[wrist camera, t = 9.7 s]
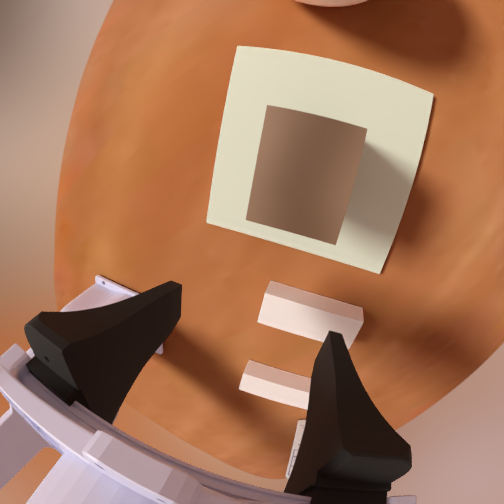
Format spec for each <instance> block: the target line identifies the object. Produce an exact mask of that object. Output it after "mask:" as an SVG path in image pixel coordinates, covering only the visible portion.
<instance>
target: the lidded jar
mask: <svg viewBox="0 0 504 504" xmlns="http://www.w3.org/2000/svg"><path fill="white" fill-rule="evenodd" d="M294 1H297V2H301V3H305V4H310V5H316V6H327V7H341V6H350V5H355V4H359V3H363V2H365V1H368V0H294Z"/></svg>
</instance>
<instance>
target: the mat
mask: <svg viewBox="0 0 504 504" xmlns="http://www.w3.org/2000/svg"><path fill="white" fill-rule="evenodd" d="M433 95H434V94H432V93H430V92H428V91H425V90H423V89H421V88H418V87H416V86H414V85H411V84H409V83H406V82H403V81H401V80H398V79H395V78H393V77H390V76H387V75H384V74H381V73H378V72H375V71H372V70H369V69H365V68H362V67H359V66H355V65H351V64H348V63H344V62H340V61H336V60H332V59H327V58H323V57H318V56H313V55H308V54H302V53H297V52H290V51H284V50H276V49H268V48H259V47H247V46H237V50H236V55H235V59H234V64H233V68H232V73H231V78H230V83H229V88H228V93H227V98H226V103H225V108H224V114H223V119H222V125H221V130H220V136H219V142H218V148H217V154H216V160H215V166H214V173H213V179H212V186H211V193H210V200H209V207H208V214H207V222H206V223H209V224H213V225H217V226H220V227H224V228H227V229H231V230H234V231H238V232H241V233H244V234H248V235H251V236H255V237H258V238H262V239H265V240H269V241H272V242H275V243H279V244H282V245H286V246H289V247H292V248H296V249H299V250H302V251H306V252H309V253H312V254H316V255H319V256H322V257H326V258H329V259H332V260H336V261H339V262H342V263H345V264H349V265H352V266H355V267H358V268H362V269H365V270H368V271H371V272H375V273H378V274H380V272H381V269H382V267H383V265H384V262H385V260H386V257H387V255H388V253H389V250H390V247H391V245H392V242H393V240H394V237H395V235H396V232H397V229H398V226H399V224H400V221H401V218H402V215H403V212H404V209H405V206H406V203H407V200H408V197H409V194H410V191H411V188H412V184H413V181H414V178H415V174H416V171H417V167H418V164H419V160H420V156H421V152H422V148H423V144H424V140H425V136H426V131H427V127H428V122H429V117H430V112H431V107H432V101H433ZM267 105H271V106H277V107H282V108H287V109H292V110H297V111H302V112H306V113H311V114H315V115H319V116H324V117H328V118H331V119H335V120H339V121H343V122H346V123H350V124H353V125H357V126H360V127H363V128H366V129H367V133H366V138H365V142H364V146H363V151H362V155H361V159H360V163H359V167H358V171H357V174H356V178H355V182H354V186H353V189H352V193H351V196H350V200H349V203H348V207H347V210H346V214H345V217H344V220H343V224H342V227H341V230H340V233H339V237H338V240H337V243H336V245H333V244H329V243H326V242H322V241H319V240H315V239H312V238H309V237H305V236H302V235H298V234H295V233H291V232H287V231H284V230H280V229H277V228H273V227H269V226H266V225H262V224H258V223H255V222H251V221H247V220H246V215H247V209H248V204H249V198H250V193H251V188H252V182H253V177H254V171H255V166H256V161H257V155H258V150H259V145H260V139H261V134H262V129H263V124H264V119H265V113H266V108H267Z"/></svg>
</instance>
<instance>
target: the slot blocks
mask: <svg viewBox="0 0 504 504" xmlns="http://www.w3.org/2000/svg"><path fill="white" fill-rule="evenodd" d="M258 322H259V323H262V324H265V325H268V326H271V327H274V328H277V329H281V330H284V331H287V332H290V333H294V334H297V335H300V336H304V337H307V338H311V339H314V340H318V341H321V342H324V341H325V339H326V336H327V334H328V332H329V330H330V331H334V332H337V333H341V334H342V335H343V338H344V341H345V344H346V346H347V349H349V348H350V347H351V345H352V343H353V341H354V339H355V338H356V336H357V334H358V332H359V330H360V328H361V326H362V325H363V323H364V319H363V308H362V307H359V306H355V305H352V304H348V303H345V302H342V301H338V300H335V299H331V298H328V297H325V296H321V295H318V294H315V293H311V292H308V291H305V290H301V289H298V288H295V287H291V286H288V285H285V284H282V283H278V282H275V281H272V280H271V281H270V283H269V285H268V288H267V290H266V292H265V295H264V299H263V303H262V307H261V310H260V314H259V318H258ZM310 383H311V378H308V377H305V376H301V375H297V374H294V373H290V372H287V371H284V370H280V369H277V368H274V367H270V366H267V365H264V364H261V363H258V362H255V361H252V360H249V361H248V363H247V366H246V368H245V370H244V373H243V376H242V380H241V383H240V387H239V390H242V391H245V392H248V393H251V394H254V395H257V396H260V397H264V398H267V399H270V400H274V401H277V402H280V403H284V404H288V405H291V406H295V407H299V408H303V409H307V410H308V401H309V392H310Z"/></svg>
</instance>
